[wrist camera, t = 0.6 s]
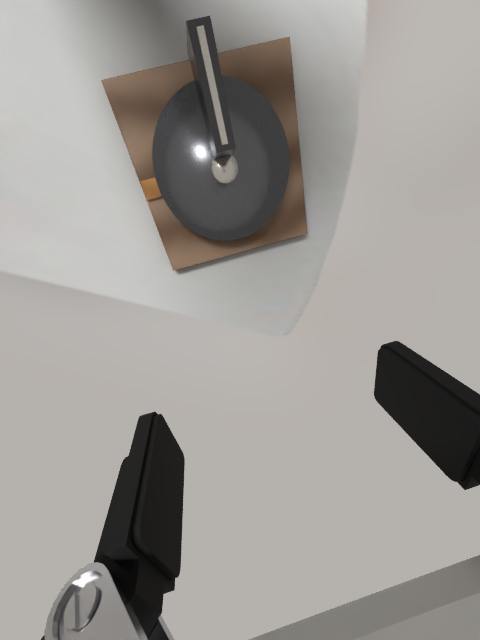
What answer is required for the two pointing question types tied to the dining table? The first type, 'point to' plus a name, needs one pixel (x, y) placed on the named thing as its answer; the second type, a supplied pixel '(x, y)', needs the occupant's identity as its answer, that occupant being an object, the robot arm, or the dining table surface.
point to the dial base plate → (139, 126)
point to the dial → (219, 148)
